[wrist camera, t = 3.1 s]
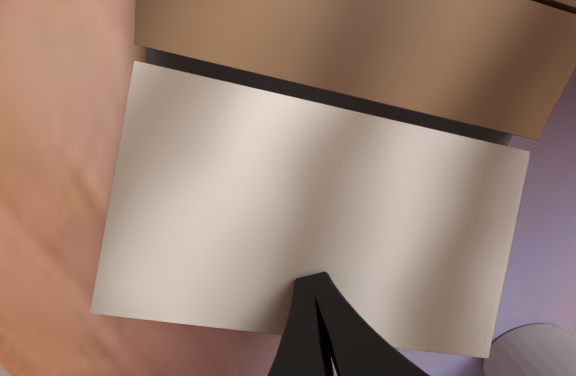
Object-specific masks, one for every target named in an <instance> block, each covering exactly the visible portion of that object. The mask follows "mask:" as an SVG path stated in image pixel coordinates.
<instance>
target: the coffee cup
mask: <svg viewBox="0 0 576 376" xmlns="http://www.w3.org/2000/svg"><path fill="white" fill-rule="evenodd" d="M483 372H484V375H485V376H576V339H575V338H574V337H573V336H571V335H570V334H568V333H567V332H566V331H564V330H563V329H561V328H559V327H557V326H555V325H550V324H531V325H526V326H522V327H519V328H516V329H513V330H511V331H509V332H507V333H505V334H503V335H502V336H500V337H499V338H498V339H496V340H495V341H494V342H493V343H492V344H491V348H490V353H489V358H484V360H483Z"/></svg>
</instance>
